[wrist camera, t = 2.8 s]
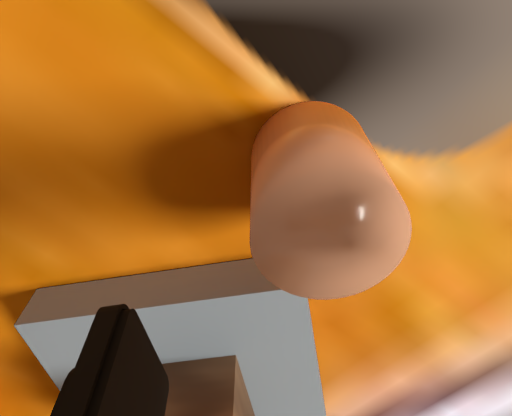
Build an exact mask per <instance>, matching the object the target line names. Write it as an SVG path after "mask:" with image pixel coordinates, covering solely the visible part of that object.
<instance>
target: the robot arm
mask: <svg viewBox="0 0 512 416" xmlns="http://www.w3.org/2000/svg"><path fill="white" fill-rule="evenodd" d="M168 393H169V380H168V376H167V374H166V372H165V370H164V367H163V365H162V363H161V361H160V359H159V357H158V355H157V353H156V351H155V349H154V347H153V345H152V343H151V341H150V339H149V337H148V334H147V332H146V330H145V328H144V326H143V324H142V322H141V320H140V318H139V316H138V314H137V312H136V310H135V309H129V308H128V306H127V305H126V304H118V305H112V306H105V307H100V308H99V309H98V311H97V313H96V315H95V317H94V320H93V323H92V325H91V328H90V330H89V333H88V335H87V338H86V340H85V343H84V345H83V348H82V350H81V353H80V355H79V358H78V360H77V363H76V366H75V368H73V369H72V370H71V371H70V372H69V373H68V375H67V377H66V379H65V381H64V383H63V386H62V388H61V391H60V393H59V395H58V398H57V400H56V403H55V405H54V408H53V410H52V413H51V415H50V416H165V411H166V405H167V399H168Z"/></svg>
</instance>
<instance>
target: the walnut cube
mask: <svg viewBox="0 0 512 416" xmlns="http://www.w3.org/2000/svg"><path fill="white" fill-rule="evenodd" d="M162 365H163V367H164V370H165V372H166V374H167V376H168V380H169V393H168V399H167V405H166V411H165V416H255V414H254V411H253V408H252V405H251V401H250V398H249V395H248V392H247V389H246V386H245V382H244V379H243V376H242V373H241V370H240V366H239V363H238V360H237V357H236V355H231V356H223V357H215V358H206V359H198V360H190V361H181V362H173V363H165V364H162Z"/></svg>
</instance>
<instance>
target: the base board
mask: <svg viewBox="0 0 512 416" xmlns="http://www.w3.org/2000/svg"><path fill="white" fill-rule="evenodd" d="M118 304H126V305H127V306H128V308H129V309H135V310H136V312H137V314H138V316H139V318H140V320H141V322H142V324H143V326H144V328H145V330H146V332H147V334H148V337H149V339H150V341H151V343H152V345H153V347H154V349H155V351H156V353H157V355H158V357H159V359H160V361H161V363H162V364H165V363H173V362H181V361H190V360H198V359H206V358H215V357H223V356H231V355H236V357H237V360H238V363H239V366H240V370H241V373H242V376H243V379H244V382H245V386H246V389H247V392H248V395H249V398H250V401H251V405H252V408H253V411H254V414H255V416H326V411H325V405H324V399H323V392H322V386H321V379H320V373H319V367H318V360H317V354H316V348H315V341H314V335H313V328H312V322H311V316H310V309H309V303H308V298H304V297H299V296H296V295H293V294H290V293H288V292H286V291H283V290H281V289H280V288H278V287H276V286H275V285H273V284H272V283H271V282H270V281H268V280H267V279H266V278H265V277H264V276H263V274H262V273H261V272H260V270H259V269H258V268H257V266H256V264H255V262H254V260H253V258H251V259H244V260H237V261H230V262H223V263H216V264H209V265H202V266H195V267H188V268H181V269H174V270H167V271H160V272H153V273H146V274H139V275H131V276H124V277H117V278H110V279H103V280H96V281H89V282H82V283H75V284H68V285H61V286H54V287H47V288H40V289H37V290H36V291H35V293H34V294H33V296H32V298H31V299H30V301H29V302H28V304H27V305H26V307H25V309H24V310H23V312H22V313H21V315H20V317H19V318H18V320H17V321H16V323H15V324H14V326H15V328H16V329H17V330H18V332H19V333H20V335H21V336H22V338H23V339H24V340H25V342H26V343H27V345H28V346H29V348H30V349H31V350H32V352H33V353H34V355H35V356H36V357H37V359H38V360H39V362H40V363H41V365H42V366H43V367H44V369H45V370H46V372H47V373H48V375H49V376H50V377H51V379H52V380H53V382H54V383H55V384H56V386H57V387H58V389H59V390H60V391H61V388H62V386H63V383H64V381H65V379H66V377H67V375H68V373H69V372H70V371H71V370H72V369H73V368H75V366H76V363H77V360H78V358H79V355H80V353H81V350H82V348H83V345H84V343H85V340H86V338H87V335H88V333H89V330H90V328H91V325H92V323H93V320H94V317H95V315H96V313H97V311H98V309H99V308H100V307H105V306H112V305H118Z"/></svg>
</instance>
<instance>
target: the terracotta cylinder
mask: <svg viewBox="0 0 512 416" xmlns="http://www.w3.org/2000/svg"><path fill="white" fill-rule="evenodd" d="M411 231H412V227H411V218H410V214H409V211H408V208H407V206H406V204H405V202H404V200H403V199H402V197H401V195H400V193H399V192H398V190H397V188H396V186H395V185H394V183H393V181H392V180H391V178H390V176H389V174H388V173H387V171H386V169H385V167H384V166H383V164H382V162H381V160H380V159H379V157H378V155H377V153H376V152H375V150H374V148H373V146H372V145H371V143H370V141H369V139H368V138H367V136H366V134H365V133H364V131H363V129H362V127H361V126H360V124H359V123H358V121H357V120H356V119H355V118H354V117H353V116H352V115H351V114H349V113H348V112H347V111H345V110H344V109H342V108H340V107H338V106H336V105H333V104H330V103H326V102H320V101H308V102H301V103H296V104H293V105H290V106H288V107H286V108H284V109H282V110H280V111H278V112H277V113H275V114H274V115H273V116H272V117H270V118H269V119H268V120H267V121H266V122H265V124H264V125H263V126H262V127H261V129H260V130H259V132H258V134H257V136H256V138H255V141H254V144H253V148H252V159H251V209H250V248H251V254H252V257H253V260H254V262H255V264H256V266H257V268H258V269H259V270H260V272H261V273H262V274H263V276H264V277H265V278H266V279H267V280H268V281H270V282H271V283H272V284H273V285H275V286H276V287H278V288H280V289H281V290H283V291H286V292H288V293H290V294H293V295H296V296H299V297H304V298H309V299H337V298H343V297H347V296H351V295H355V294H357V293H360V292H363V291H365V290H367V289H369V288H371V287H373V286H375V285H376V284H378V283H379V282H381V281H382V280H383V279H385V278H386V277H387V276H388V275H389V274H390V273H391V272H392V271H393V270H394V269H395V268H396V267H397V266H398V265H399V263H400V262H401V260H402V259H403V257H404V255H405V253H406V251H407V249H408V246H409V243H410V239H411Z"/></svg>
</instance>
